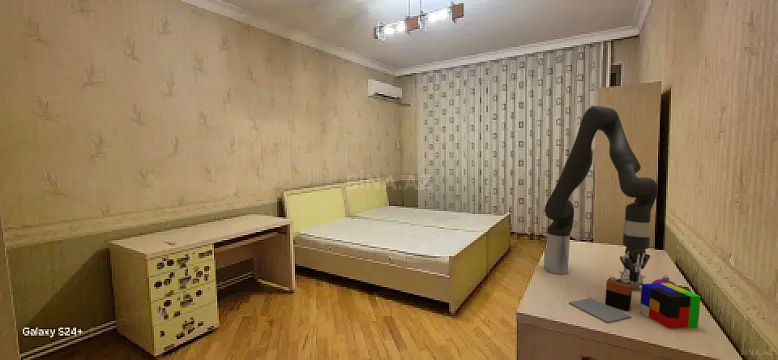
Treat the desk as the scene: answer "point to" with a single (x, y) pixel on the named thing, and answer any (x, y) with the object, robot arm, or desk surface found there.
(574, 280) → the desk surface
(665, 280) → the christmas ornament
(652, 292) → the puzzle toy
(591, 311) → the mat
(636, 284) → the game die
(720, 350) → the desk surface
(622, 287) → the battery
